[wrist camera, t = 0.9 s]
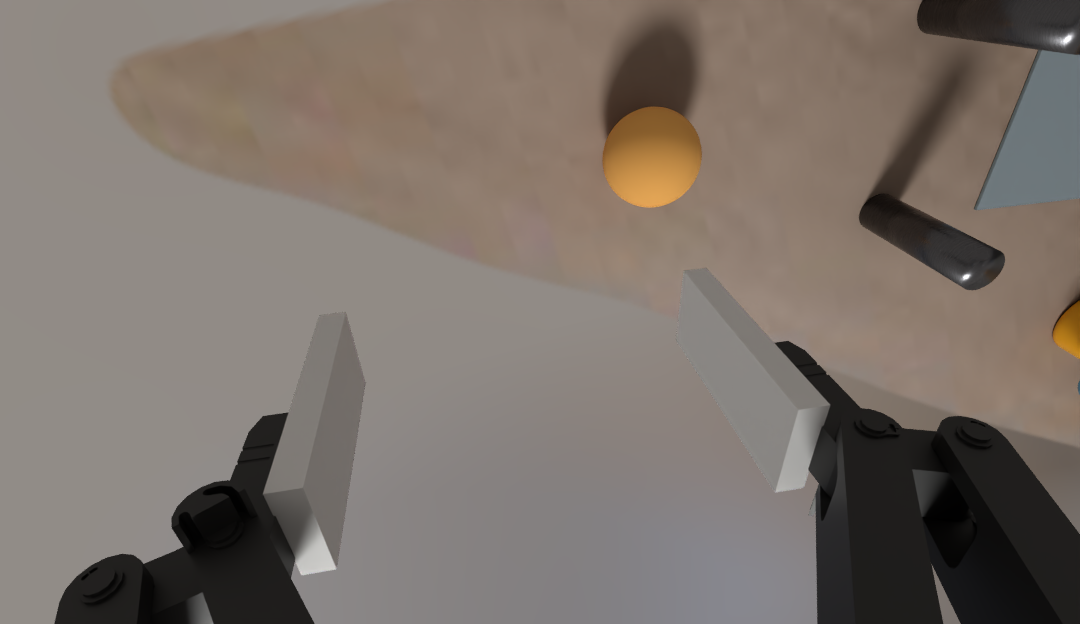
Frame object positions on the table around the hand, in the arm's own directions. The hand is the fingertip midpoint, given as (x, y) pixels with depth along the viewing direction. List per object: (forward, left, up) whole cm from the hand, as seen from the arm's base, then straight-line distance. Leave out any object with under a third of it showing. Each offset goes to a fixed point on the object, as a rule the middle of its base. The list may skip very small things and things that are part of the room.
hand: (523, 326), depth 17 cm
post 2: (-28, +6, -18) cm, 33 cm away
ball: (-10, 0, -15) cm, 18 cm away
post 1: (-28, -6, -18) cm, 33 cm away
